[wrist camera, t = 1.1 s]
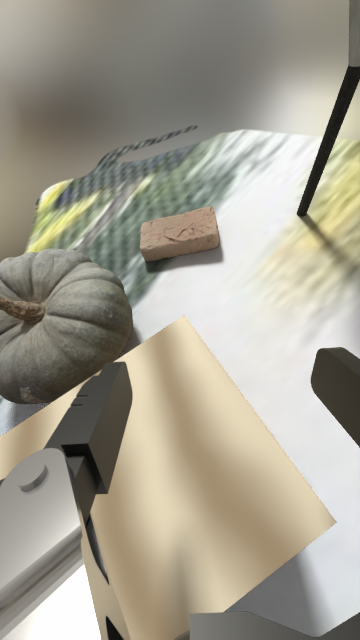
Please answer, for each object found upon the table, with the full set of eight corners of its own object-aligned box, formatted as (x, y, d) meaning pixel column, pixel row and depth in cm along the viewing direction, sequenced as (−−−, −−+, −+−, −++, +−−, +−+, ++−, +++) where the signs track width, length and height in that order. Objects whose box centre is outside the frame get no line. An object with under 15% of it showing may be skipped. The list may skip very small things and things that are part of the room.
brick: (145, 264, 45) (137, 248, 41) (145, 237, 48) (138, 220, 44) (220, 250, 42) (219, 232, 38) (215, 222, 46) (214, 203, 42)
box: (203, 361, 33) (184, 315, 18) (271, 458, 26) (336, 522, 11) (95, 435, 31) (-29, 455, 16) (136, 559, 24) (-13, 798, 9)
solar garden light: (256, 218, 43) (305, -96, 17) (295, 186, 45) (395, -146, 18) (308, 245, 38) (503, -155, 11) (350, 207, 39) (607, -220, 13)
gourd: (51, 270, 46) (-29, 207, 29) (158, 288, 43) (135, 228, 26) (2, 384, 39) (-140, 385, 22) (124, 414, 36) (65, 442, 19)
